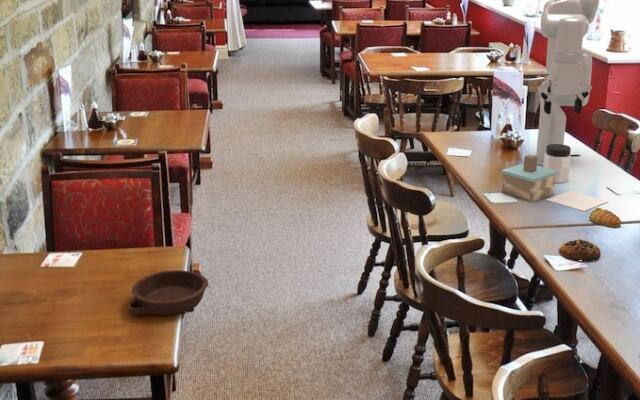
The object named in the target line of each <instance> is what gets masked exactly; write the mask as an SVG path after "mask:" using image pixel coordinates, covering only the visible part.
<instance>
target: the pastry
mask: <svg viewBox="0 0 640 400" xmlns="http://www.w3.org/2000/svg"><path fill="white" fill-rule="evenodd" d="M588 218H589V220H590V221H591V222H592V223H595V224H597V225H600V226H603V227H607V228H617V227H620V226H621V224H622V220H621V219H620V217H619V216H617V215H616V214H615V213H613V212H612V211H610V210H608V209H602V208H600V207H595V208H593V209H592V211H590V213H589V217H588Z"/></svg>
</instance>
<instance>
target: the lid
mask: <svg viewBox="0 0 640 400" xmlns="http://www.w3.org/2000/svg"><path fill="white" fill-rule="evenodd" d="M537 158H538V156H536V155H534V154H527V155H524V157H523V163H521V164H518V165H514V166H510V167H508V168H504V169H501V174H502V175H503V174H507V175H510V176H514V177H517V178H521V179H524V180H528V181H531V182H536V181H539V180H542V179H545V178H548V177H552V176H555V175H558V171H554V170H550V169H547V168H543V166H540V165H537Z"/></svg>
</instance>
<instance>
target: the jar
mask: <svg viewBox="0 0 640 400" xmlns="http://www.w3.org/2000/svg"><path fill="white" fill-rule="evenodd" d="M571 151H572V150H571V146H569V145H567V144H563V145H562V144H550V145H547V147H546V153H545V156H544V166H542V167H543V168H547V169H550V170H554V171H558V175H555V184H562V183H563V184H564V183H566V182H569V178H570V168H571V159H572V156H571Z"/></svg>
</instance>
